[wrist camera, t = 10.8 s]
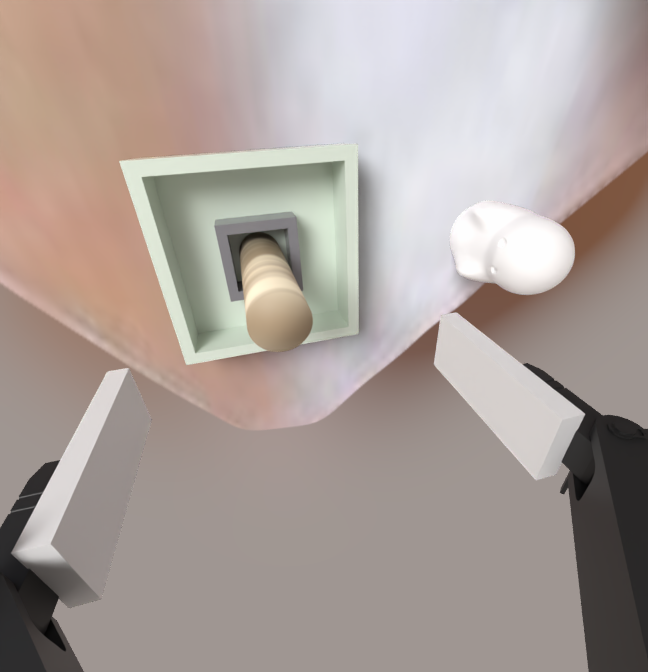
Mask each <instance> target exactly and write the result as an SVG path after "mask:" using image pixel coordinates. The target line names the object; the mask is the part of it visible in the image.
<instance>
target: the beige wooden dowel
mask: <svg viewBox="0 0 648 672" xmlns="http://www.w3.org/2000/svg"><path fill="white" fill-rule="evenodd" d="M239 254H240V264H241V274H242V284H243V294H244V303H245V313H246V323H247V330H248V334H249V336H250V338H251V339H252V341H253V342H254V343H255V344H256V345H258V346H259V347H261V348H263V349H265V350H268V351H272V352H283V351H288V350H291V349H294V348H296V347H297V346H299V345H300V344H301V343H303V342H304V341H305V340H306V338H307V337H308V336H309V334H310V332H311V329H312V325H313V316H312V312H311V310H310V308H309V306H308V304H307V302H306V300H305V298H304V296H303V293H302V291H301V289H300V287H299V285H298V283H297V281H296V279H295V277H294V275H293V273H292V271H291V269H290V267H289V265H288V263H287V261H286V259H285V257H284V255H283V253H282V251H281V249H280V247H279V245H278V243H277V241H276V240H275V239H274V238H273V237H272V236H271V235H269V234H267V233H263V232H255V233H252V234H249V235H248V236H246V237H245V238H244V240H243V241H242V243H241V245H240V249H239Z"/></svg>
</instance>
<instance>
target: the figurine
mask: <svg viewBox="0 0 648 672" xmlns="http://www.w3.org/2000/svg"><path fill="white" fill-rule="evenodd" d="M449 244H450V249H451V251H452V254H453V256H454V259H455V264H456V270H457V272H458V273H459V274H460V275H461V276H463V277H465V278H467V279H470V280H474V281H479V282H487V283H496V284H498V285H499V286H500V287H502V288H503V289H505V290H507V291H509V292H512V293H515V294H520V295H533V294H539V293H542V292H545V291H547V290H549V289H552V288H553V287H555V286H556V285H558V284H559V283H560V282H561V281H562V280H563V279H564V278H565V277H566V276H567V275H568V273H569V271H570V270H571V268H572V265H573V262H574V257H575V248H574V243H573V240H572V238H571V236H570V234H569V233H568V232H567V230H566V229H565V228H564V227H562V226H561V225H560V224H558V223H557V222H555V221H553V220H551V219H549V218H546V217H543V216H540V215H538V214H536V213H534V212H532V211H530V210H528V209H525V208H522V207H518V206H515V205H511V204H507V203H502V202H498V201H481V202H478V203H476V204H475V205H473V206H471V207H469V208H467V209H466V210H465V211H463V212H462V213H461V214H460V215H459V217H458V218H457V219H456V221H455V222H454V224H453V226H452V229H451V232H450V237H449Z"/></svg>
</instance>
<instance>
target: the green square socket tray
mask: <svg viewBox="0 0 648 672" xmlns="http://www.w3.org/2000/svg"><path fill="white" fill-rule="evenodd" d="M119 162H120V165H121V168H122V171H123V174H124V177H125V180H126V183H127V186H128V189H129V192H130V195H131V198H132V201H133V204H134V207H135V210H136V213H137V216H138V219H139V223H140V226H141V229H142V232H143V235H144V238H145V241H146V244H147V247H148V250H149V253H150V256H151V259H152V262H153V265H154V268H155V271H156V274H157V277H158V280H159V283H160V286H161V289H162V292H163V295H164V298H165V301H166V305H167V308H168V311H169V314H170V317H171V320H172V323H173V326H174V329H175V332H176V335H177V338H178V341H179V344H180V347H181V350H182V353H183V356H184V359H185V362H186V365H189V364H195V363H201V362H206V361H212V360H217V359H223V358H228V357H234V356H240V355H245V354H251V353H256V352H262V351H267V350H265V349H263V348H261V347H259V346H258V345H256V344H255V343H254V342H253V341H252V339H251V338H250V336H249V334H248V330H247V323H246V313H245V303H244V294H243V284H242V274H241V264H240V254H239V249H240V245H241V243H242V241H243V240H244V238H245V237H246V236H248V235H249V234H252V233H255V232H263V233H267V234H269V235H271V236H272V237H273V238H274V239H275V240H276V241H277V243H278V245H279V247H280V249H281V251H282V253H283V255H284V257H285V259H286V261H287V263H288V265H289V267H290V269H291V271H292V273H293V275H294V277H295V279H296V281H297V283H298V285H299V287H300V289H301V291H302V293H303V296H304V298H305V300H306V302H307V304H308V306H309V308H310V310H311V312H312V316H313V325H312V329H311V332H310V334H309V336H308V337H307V338H306V340H305V341H304V342H303V343H301V344H306V343H312V342H318V341H323V340H329V339H334V338H340V337H345V336H351V335H357V334H359V275H358V144H328V145H314V146H300V147H286V148H272V149H258V150H244V151H230V152H216V153H202V154H188V155H174V156H160V157H146V158H134V159H129V160H123V161H119ZM301 344H300V345H301Z"/></svg>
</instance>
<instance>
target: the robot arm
mask: <svg viewBox="0 0 648 672" xmlns="http://www.w3.org/2000/svg"><path fill="white" fill-rule="evenodd" d="M434 365H435V366H436V368H437V369H438V370H439V371H440V372H441V373H442V374H443V376H445V378H446V379H447V380H448V381H449V382H450V384H451V385H452V386H453V387H454V388H455V389H456V390H457V391H458V392H459V394H460V395H461V396H462V397H463V398H464V399H465V400H466V402H467V403H468V404H469V405H470V406H471V407H472V408H473V409H474V411H475V412H476V413H477V414H478V415H479V416H480V418H481V419H482V420H483V421H484V422H485V423H486V424H487V425H488V427H489V428H490V429H491V430H492V431H493V432H494V433H495V434H496V436H497V437H498V438H499V439H500V440H501V441H502V442H503V444H504V445H505V446H506V447H507V448H508V449H509V450H510V451H511V453H512V454H513V455H514V456H515V457H516V458H517V459H518V461H519V462H520V463H521V464H522V465H523V466H524V467H525V468H526V470H527V471H528V472H529V473H530V474H531V475H532V476H533V478H534V479H535V480H539V479H542V478H546V477H549V476H553V475H556V474H557V471H558V469H559V467H560V465H561V463H563V464H564V465H565V466H566V467H567V468H569V470H570V471H569V473H568V476H567V477H566V479H565V481H564V483H563V485H562V487H561V491H560V493H562V494H564V493H565V492H566V490H567V488H569V497H570V506H571V515H572V524H573V533H574V542H575V551H576V560H577V569H578V578H579V587H580V596H581V606H582V615H583V623H584V632H585V642H586V650H587V660H588V669H589V672H648V429H643V428H642V427H640V426H639V425H638V424H636V423H634V422H632V421H630V420H628V419H625V418H622V417H619V416H613V415H604V416H603V415H601V414H600V413H599V412H597V411H596V410H595V409H593V408H592V407H591V406H589V405H588V404H587V403H585V402H584V401H583V400H581V399H580V398H579V397H577V396H576V395H575V394H573V393H572V392H571V391H569V390H568V389H567V388H564V387H563V385H561V384H560V383H559V382H557V381H554V379H553V378H552V377H551V376H549V375H548V374H547V373H546V372H544V371H543V370H541V369H539V368H536V367H534V366H532V365H530V364H528V363H526V364H521V363H520V362H519V361H517V360H516V359H515V358H514V357H512V356H511V355H510V354H508V353H507V352H506V351H505V350H503V349H502V348H501V347H499V346H498V345H497V344H496V343H494V342H493V341H492V340H491V339H489V338H488V337H487V336H486V335H484V334H483V333H482V332H480V331H479V330H478V329H477V328H475V327H474V326H473V325H471V324H470V323H469V322H468V321H466V320H465V319H464V318H463V317H461V316H460V315H459V314H457V313H451V314H445V315H441V319H440V326H439V333H438V339H437V346H436V353H435V360H434ZM151 421H152V419H151V416H150V414H149V412H148V410H147V408H146V405H145V403H144V401H143V399H142V397H141V394H140V392H139V390H138V387H137V385H136V383H135V381H134V378H133V376H132V374H131V372H130V369H129V368H126V369H120V370H115V371H108V372H107V373H106V375H105V377H104V379H103V381H102V383H101V385H100V386H99V388H98V390H97V392H96V394H95V396H94V398H93V400H92V401H91V403H90V405H89V407H88V409H87V411H86V413H85V415H84V417H83V418H82V420H81V422H80V424H79V426H78V428H77V430H76V432H75V434H74V435H73V437H72V439H71V441H70V443H69V445H68V447H67V449H66V451H65V453H64V454H63V456H62V458H61V460H59V461H54V462H49V463H45V464H44V465H43V466H42V467H41V468H40V469H39V470H38V471H37V472H36V473H35V474H34V475H33V476H32V477H31V478H30V479H29V481H28V482H27V484H26V485H25V487H24V489H23V491H22V492H21V494H20V496H19V500H17V501H16V502H15V504H14V506H13V508H12V509H11V514H8V516H7V518H6V519H5V521H4V523H3V524H2V526H1V528H0V672H84V671H83V669H82V667H81V666H80V664H79V662H78V660H77V658H76V656H75V654H74V652H73V651H72V648H71V647H70V645H69V643H68V641H67V639H66V637H65V635H64V633H63V631H62V630H61V628H60V626H59V624H58V622H57V620H55V619H54V618H53V617H52V614H53V612H54V609H55V606H56V604H57V601H58V598H59V599H60V600H61V601H62V602H63V603H64V604H65V605H66V606H67V607H68V608H72V607H75V606H79V605H83V604H86V603H89V602H93V601H97V600H100V599H101V598H102V595H103V591H104V588H105V584H106V581H107V577H108V573H109V570H110V566H111V563H112V559H113V556H114V552H115V549H116V545H117V541H118V538H119V535H120V531H121V528H122V524H123V520H124V517H125V513H126V510H127V506H128V503H129V499H130V496H131V492H132V489H133V485H134V482H135V478H136V475H137V471H138V467H139V464H140V460H141V457H142V453H143V450H144V446H145V442H146V439H147V435H148V432H149V428H150V425H151Z"/></svg>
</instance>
